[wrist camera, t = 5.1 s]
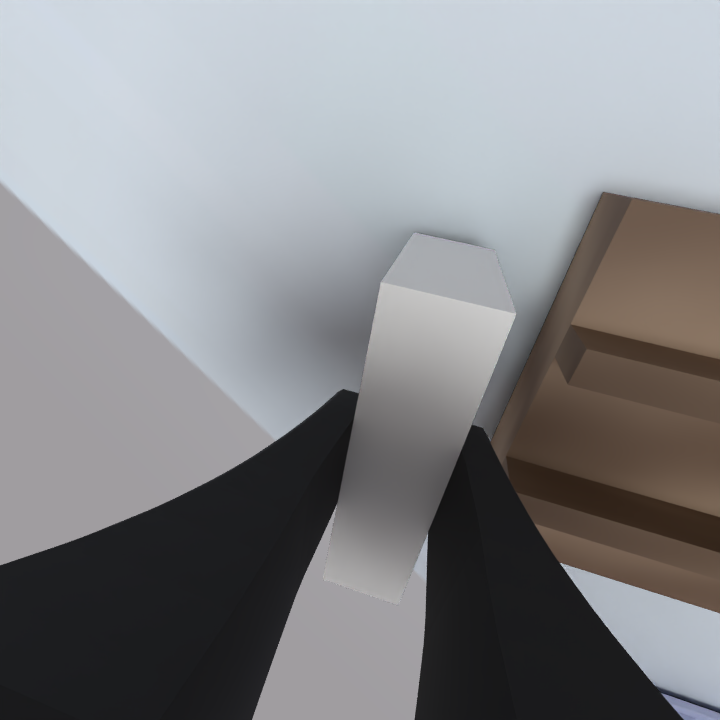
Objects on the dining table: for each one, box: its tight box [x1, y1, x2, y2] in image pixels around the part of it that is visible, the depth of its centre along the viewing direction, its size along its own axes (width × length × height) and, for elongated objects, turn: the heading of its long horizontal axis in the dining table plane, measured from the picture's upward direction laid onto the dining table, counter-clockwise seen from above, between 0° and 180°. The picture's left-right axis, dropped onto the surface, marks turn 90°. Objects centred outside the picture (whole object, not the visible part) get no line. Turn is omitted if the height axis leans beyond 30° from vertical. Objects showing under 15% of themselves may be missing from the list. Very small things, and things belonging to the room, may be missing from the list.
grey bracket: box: [323, 232, 516, 605], centre depth 10 cm, size 9×2×5 cm, turn 171°
